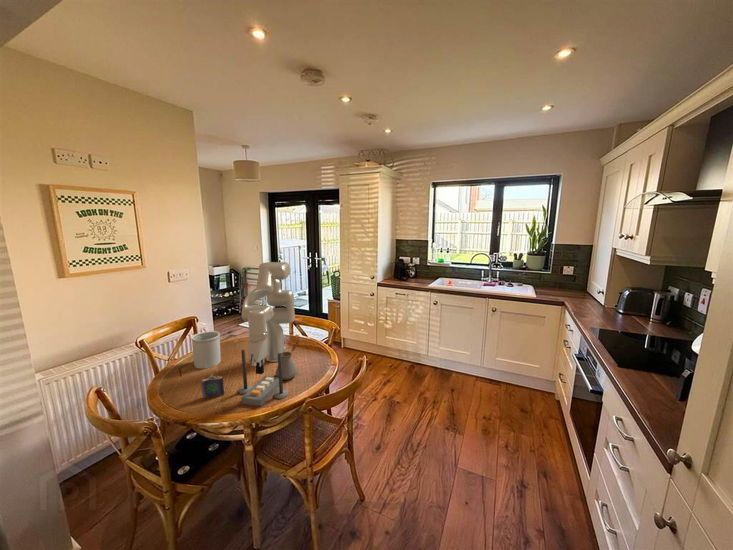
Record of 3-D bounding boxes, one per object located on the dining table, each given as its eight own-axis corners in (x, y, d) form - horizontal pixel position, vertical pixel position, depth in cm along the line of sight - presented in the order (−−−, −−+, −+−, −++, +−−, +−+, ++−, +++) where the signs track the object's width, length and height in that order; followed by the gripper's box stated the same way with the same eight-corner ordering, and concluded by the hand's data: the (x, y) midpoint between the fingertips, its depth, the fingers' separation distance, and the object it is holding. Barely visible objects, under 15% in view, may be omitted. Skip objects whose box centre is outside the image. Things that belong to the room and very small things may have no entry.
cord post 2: (278, 390, 143) (276, 350, 140) (290, 392, 142) (288, 351, 138) (271, 398, 137) (269, 355, 133) (284, 399, 136) (282, 357, 132)
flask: (202, 399, 136) (200, 378, 134) (203, 395, 138) (201, 375, 137) (223, 395, 139) (222, 374, 137) (224, 392, 141) (223, 372, 140)
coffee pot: (291, 383, 150) (289, 356, 148) (271, 380, 153) (269, 353, 150) (308, 364, 170) (308, 340, 168) (291, 362, 173) (290, 338, 171)
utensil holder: (227, 358, 178) (225, 331, 176) (212, 370, 164) (209, 340, 161) (204, 357, 180) (202, 330, 177) (187, 368, 165) (184, 339, 162)
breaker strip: (264, 381, 152) (264, 373, 151) (282, 383, 150) (282, 375, 149) (241, 403, 132) (240, 394, 132) (261, 406, 130) (260, 397, 130)
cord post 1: (243, 386, 147) (241, 347, 143) (255, 388, 145) (252, 348, 142) (236, 393, 140) (232, 352, 137) (247, 395, 139) (245, 353, 136)
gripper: (259, 330, 143) (261, 365, 145) (240, 341, 128) (243, 380, 131) (273, 331, 141) (275, 366, 144) (256, 343, 127) (258, 381, 129)
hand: (260, 373), depth 137 cm, fingers closed
